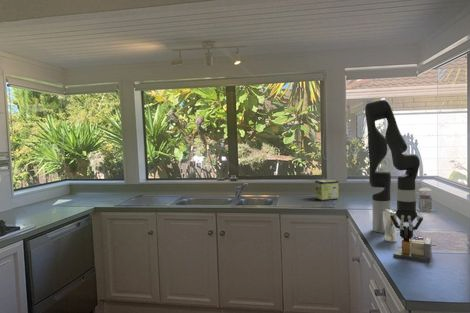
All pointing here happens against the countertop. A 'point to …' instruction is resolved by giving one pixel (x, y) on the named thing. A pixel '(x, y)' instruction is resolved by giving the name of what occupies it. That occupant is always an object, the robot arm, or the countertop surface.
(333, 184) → the protein box
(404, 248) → the press ram
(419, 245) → the block
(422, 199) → the french press
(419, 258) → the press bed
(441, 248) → the countertop surface
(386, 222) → the beer glass
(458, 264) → the countertop surface
